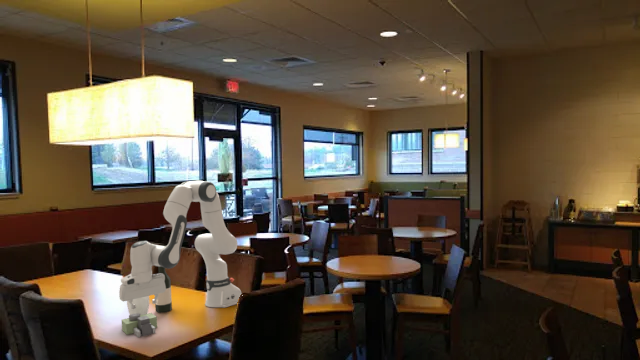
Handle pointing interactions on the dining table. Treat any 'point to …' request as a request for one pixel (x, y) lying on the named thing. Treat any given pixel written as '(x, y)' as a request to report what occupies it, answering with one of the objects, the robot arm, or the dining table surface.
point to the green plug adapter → (132, 324)
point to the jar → (139, 306)
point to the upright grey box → (144, 325)
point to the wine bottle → (164, 295)
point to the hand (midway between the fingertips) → (144, 305)
